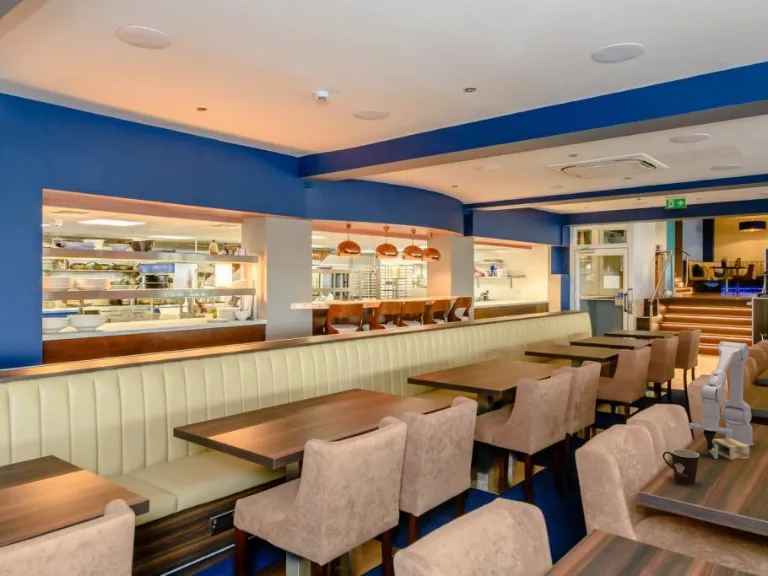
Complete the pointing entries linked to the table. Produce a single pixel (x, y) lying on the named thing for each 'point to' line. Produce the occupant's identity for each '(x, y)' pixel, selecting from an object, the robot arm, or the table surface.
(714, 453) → the door
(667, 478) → the table surface
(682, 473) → the coffee mug
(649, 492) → the table surface
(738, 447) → the cabinet
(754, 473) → the table surface
